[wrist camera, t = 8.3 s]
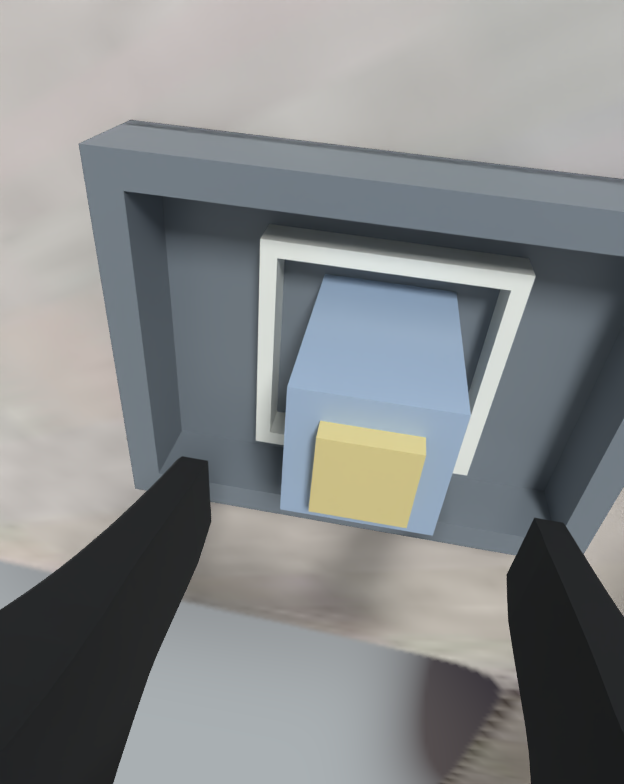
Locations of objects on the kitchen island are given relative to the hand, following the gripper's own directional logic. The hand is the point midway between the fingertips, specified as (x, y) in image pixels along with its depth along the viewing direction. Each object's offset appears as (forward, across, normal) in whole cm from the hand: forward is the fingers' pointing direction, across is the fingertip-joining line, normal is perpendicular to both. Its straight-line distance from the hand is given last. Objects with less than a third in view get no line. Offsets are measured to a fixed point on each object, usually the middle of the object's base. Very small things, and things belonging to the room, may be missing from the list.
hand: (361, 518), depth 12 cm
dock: (+8, 0, 0) cm, 8 cm away
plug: (+7, 0, 0) cm, 7 cm away
